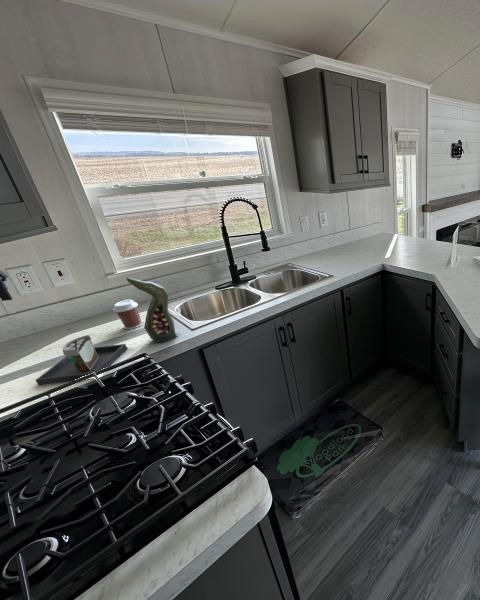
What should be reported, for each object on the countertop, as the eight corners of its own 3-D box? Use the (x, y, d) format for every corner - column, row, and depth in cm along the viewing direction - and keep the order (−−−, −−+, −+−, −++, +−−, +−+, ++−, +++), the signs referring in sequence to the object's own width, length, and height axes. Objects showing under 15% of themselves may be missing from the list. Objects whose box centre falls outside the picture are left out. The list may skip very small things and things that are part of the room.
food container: (80, 359, 129) (68, 338, 125) (100, 355, 132) (89, 334, 127) (67, 377, 119) (54, 354, 115) (88, 372, 122) (76, 350, 117)
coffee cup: (122, 332, 149) (111, 309, 144) (121, 325, 155) (110, 302, 150) (146, 325, 154) (136, 302, 149) (144, 319, 161) (134, 296, 156)
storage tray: (96, 378, 119) (93, 373, 118) (38, 385, 116) (35, 380, 115) (127, 348, 136) (125, 343, 135) (77, 354, 134) (75, 349, 133)
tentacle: (147, 340, 142) (119, 276, 129) (178, 328, 151) (154, 267, 138) (155, 346, 137) (127, 280, 124) (186, 334, 146) (163, 271, 133)
